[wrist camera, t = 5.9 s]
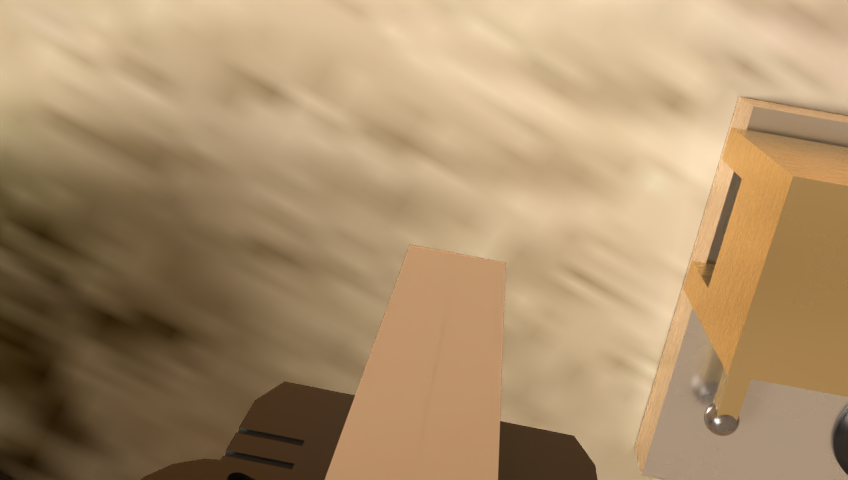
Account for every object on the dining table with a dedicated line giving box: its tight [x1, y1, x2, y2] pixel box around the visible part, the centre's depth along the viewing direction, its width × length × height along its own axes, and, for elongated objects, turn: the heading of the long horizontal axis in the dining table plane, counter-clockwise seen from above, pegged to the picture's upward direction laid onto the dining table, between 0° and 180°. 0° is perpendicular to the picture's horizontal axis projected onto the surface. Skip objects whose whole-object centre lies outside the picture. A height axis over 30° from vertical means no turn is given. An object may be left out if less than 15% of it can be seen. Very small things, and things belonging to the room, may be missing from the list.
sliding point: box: [683, 127, 848, 436], centre depth 21 cm, size 9×4×5 cm, turn 171°
